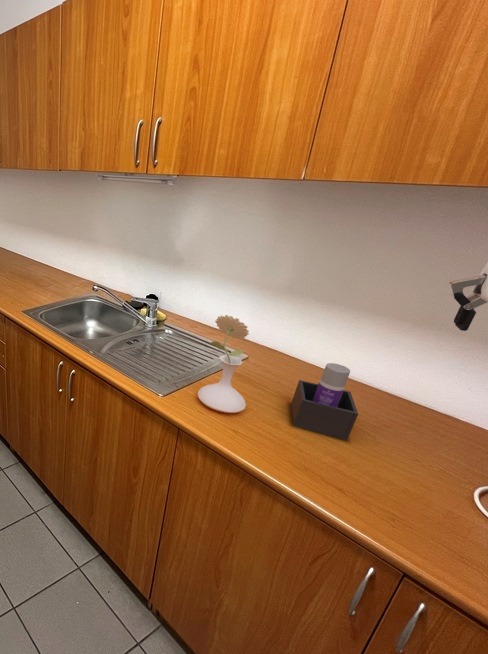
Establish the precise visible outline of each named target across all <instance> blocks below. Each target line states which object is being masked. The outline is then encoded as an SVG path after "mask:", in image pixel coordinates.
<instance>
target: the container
mask: <svg viewBox="0 0 488 654" xmlns="http://www.w3.org/2000/svg"><path fill="white" fill-rule="evenodd" d="M323 369H324V370H323V372H322V373H321V376H320V379H319V381H318V383H317V384H318V387H317V390H316V392H315V395H314V398H313V401H314V402H318V403H322V404H326V405H330V406H334V407H337V405H338V403H339V400H340V398H341V395H342V393H343V390H345V388H346V385H347V382H348V379H349V376H350V373H351V369H350V368H349V367H347V366H345V365H342V364H339V363H335V362H334V363H333V362H329V363H327V364H325V367H324V368H323Z"/></svg>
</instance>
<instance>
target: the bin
mask: <svg viewBox="0 0 488 654" xmlns="http://www.w3.org/2000/svg"><path fill="white" fill-rule="evenodd" d="M318 384H319V383H314V382H310V381H305V380H302V379H299V380H298V381H297V384H296V388H295V391H294V394H293V397H292V400H291V403H290V409H291V419H292V425H293V427H296V428H300V429H303V430H308V431H310V432H314V433H318V434H322V435H325V436H329V437H332V438H334V439H335V438H336V439H338V440H339V439H340V440H342V441H348V439H349V437H350V435H351V432H352V430H353V428H354V425H355V423H356V421H357V418H358V416H359V412H358V410H357V406H356V403H355V400H354V398H353V395H352V392H351V391H349V390H345V389H344V390H343V393H342V395H341V398H340V400H339V403H338V405H337V407H334V406H330V405H326V404H322V403H318V402H314V401H313V398H314V395H315V392H316V390H317V387H318Z"/></svg>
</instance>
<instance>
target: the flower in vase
mask: <svg viewBox="0 0 488 654" xmlns="http://www.w3.org/2000/svg"><path fill="white" fill-rule="evenodd" d="M214 322H215V324H216V327H218V329H219V331H221V332H222V333H224V334H226V335H225V338H224V341H223V344H222V343H221V342H219V341H217V340H213V341H210V343H209V344H210V345H213V346H214V347H216V348H217V349H218V350H224V351H225V355H220V357H219V358H220V361H221V364H222V373H221V378H220V380H219V382H215V383H210V384H206V385H204V386H202V387H200V388H199V390H198V392H197V396H198V399H199V401H200V402H201V403H202V404H204V406H206V407H207V408H209V409H212V410H214V411H217V412H220V413H224V414H225V413H226V414H236V413H240V412H242V411H244V410H245V409H246V407H247V404H246V400H245V398H244V397H243V396H242V395H241V394H240V392H239V391H237V390H236V389H235V388H234V387H233V386H232V378H233V375H234V373H235V371H236V369H237V368H238V367H239V366H241V365H242V364H243V360H241V358H239V357H237V356H240V355H243V354H244V353H245V352H246V350H236V349H235V350H233V351H231V352H229V353H228V350H227V347H226V342H227V339H228V337H231V338H234V339H246V337H248V335H250V330H248V325H246V324H245V323H244V322H241V321H240V318H238V317H235V318H234V317H233V316H232V315H230V316H229V314H225V315H220V316H217V318H216V320H215V321H214Z"/></svg>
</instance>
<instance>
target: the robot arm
mask: <svg viewBox="0 0 488 654" xmlns="http://www.w3.org/2000/svg"><path fill="white" fill-rule="evenodd" d="M448 286H449V290H450V292H451V297H452V298H453V299H454V300H455V301H456V302H457V303H458V304H459V308H458V310H457V312H456V314H455V317H454V319H453V323H454V324H455V327H457V329H458V330H459V331H463V332H466V331H468V330H469V328H470V326H471V324H472V322H473V320H474V318H475V316H476V315H477V311H476V308H478V307H481V306H483V305H485V304H487V303H488V261H487V262H486V264H485V265H484V266H483V268H482V270H481V271H480V273H479V274H478V275H476V276H471V277H466V278H460V279H455V280H451V281H450V282H448ZM468 287H471V292H472V294H469V295H468V296H466V295H465V294H464V289H465V288H468Z"/></svg>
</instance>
